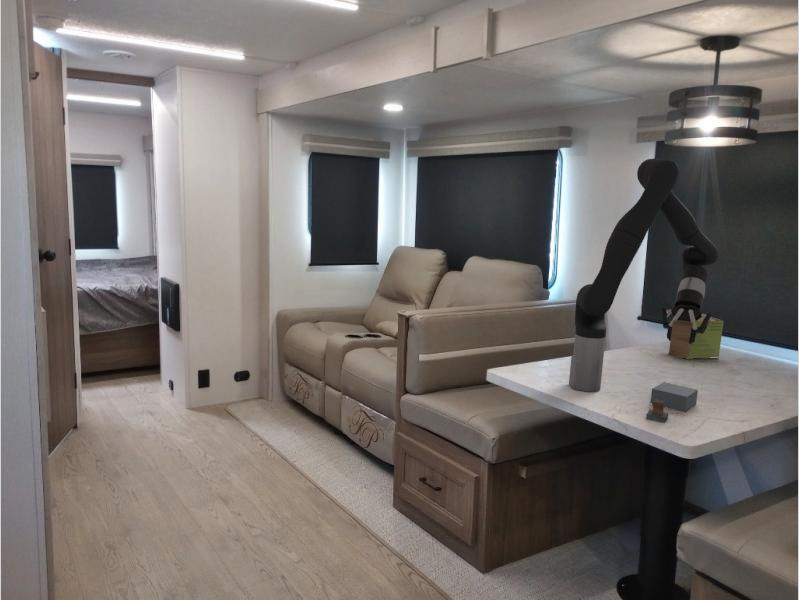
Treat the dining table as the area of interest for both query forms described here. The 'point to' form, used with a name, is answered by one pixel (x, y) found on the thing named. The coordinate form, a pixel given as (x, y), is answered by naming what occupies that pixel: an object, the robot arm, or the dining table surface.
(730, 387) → the dining table surface
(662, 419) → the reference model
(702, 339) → the protein box
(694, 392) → the slate base block
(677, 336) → the walnut block
